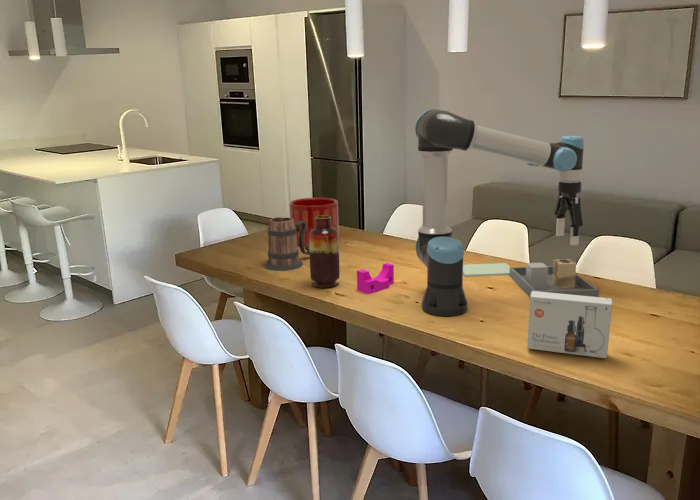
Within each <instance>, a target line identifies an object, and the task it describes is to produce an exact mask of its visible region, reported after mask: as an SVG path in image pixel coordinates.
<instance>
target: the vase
mask: <svg viewBox="0 0 700 500" xmlns="http://www.w3.org/2000/svg"><path fill="white" fill-rule="evenodd" d="M339 243H340V236H339V237H338V231H337V230H336V229H334V228H332V227H331V217H330V216H325V215H323V216H316V217H315V228H314V229H312V230H311V231H310V232H309V247H308V249H309V254H310V255H309V267H310V268H309V273H310V280H312V281H313V286H314V287H315V288H319V289H329V288H333V287H336V286H337V285H338V281H337V280H339V279H340V273H341V271H340V245H339Z"/></svg>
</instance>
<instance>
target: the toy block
mask: <svg viewBox="0 0 700 500" xmlns="http://www.w3.org/2000/svg"><path fill="white" fill-rule="evenodd" d="M394 268H395V265H394V264H393V263H388V262H385V263H382V267H381V270H380V272H379V273H378V275H377V276H375V277H373V278H372V276H371V274H370V271H369V270H366V269H359V270H358V269H357V270H356V290H357V291H358V292H362V293H364V294H366V295H371V294H374V293H377V292H380V291H384V290H387V289H389V288H390V286H391V285H393V284H394V283H395V278H394V277H395V275H394V274H395V269H394Z"/></svg>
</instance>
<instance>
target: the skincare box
mask: <svg viewBox="0 0 700 500" xmlns="http://www.w3.org/2000/svg"><path fill="white" fill-rule="evenodd" d="M612 308H613V299H612V298H610V297H601V296H600V297H599V296H598V297H591V296H581V295H570V294H559V293H549V292H539V291H532V292H531V295H530V297H529V312H528V326H527V327H528V329H527V342H526V343H527V344H526V346H527V347H526V348H527V349H528V350H529V349H530V350H540V351H546V352H554V353H562V354H570V355H578V356H586V357H592V358H600V359H607V357H608V351H609V340H610V331H611V321H612V320H611V319H612Z"/></svg>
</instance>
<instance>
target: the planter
mask: <svg viewBox="0 0 700 500" xmlns="http://www.w3.org/2000/svg"><path fill="white" fill-rule="evenodd" d="M288 204H289V206H288V207H289V218H293V219H294V223H295V224H296V223H297V222H298V221H304V222H305V223H306V231H305V234H304V238H303V246H304V248H305V245H307V244H308V245H309V232H310V231H311V230H312V229H314V228H315V217H316V216H323V215H325V216H330V217H331V227H332V228H334V229H336V230H337V231H338V237H339V238H340V230H339V229H340V227H339V224H340V223H339V201H338V199H335V198H329V197H305V198H297V199H294V200H291V201H289V203H288ZM300 226H301V229H302V224H301V225H300ZM301 229H300V231H301ZM299 235H300V233H299V232H296V236H297V245H298V246H297V247H299Z"/></svg>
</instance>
